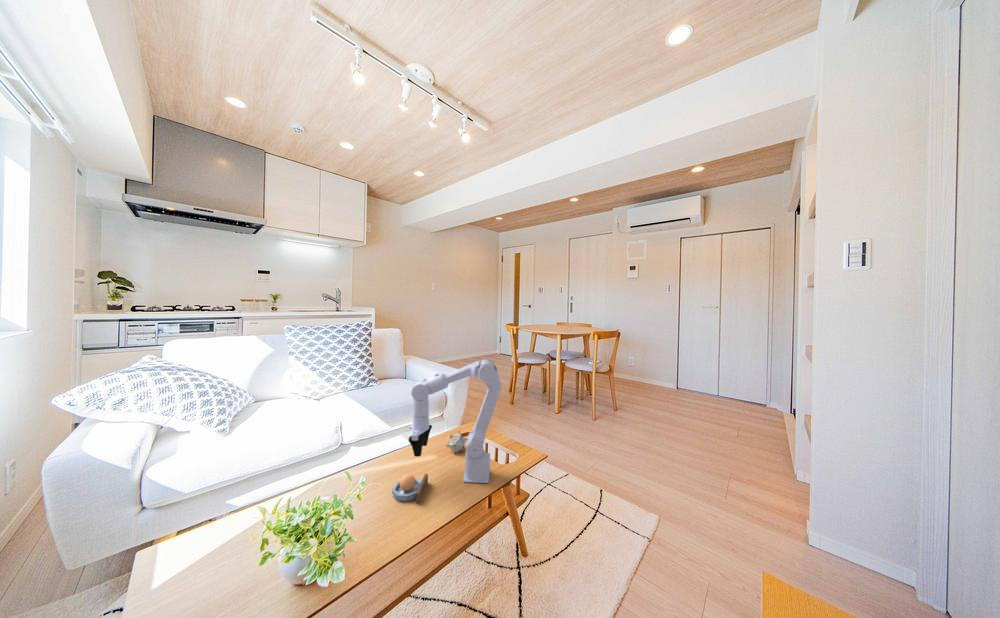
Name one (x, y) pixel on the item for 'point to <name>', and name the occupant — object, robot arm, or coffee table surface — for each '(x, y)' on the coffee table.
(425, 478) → the wooden block
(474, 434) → the robot arm
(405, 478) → the ball
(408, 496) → the dish
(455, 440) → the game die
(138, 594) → the coffee table surface
